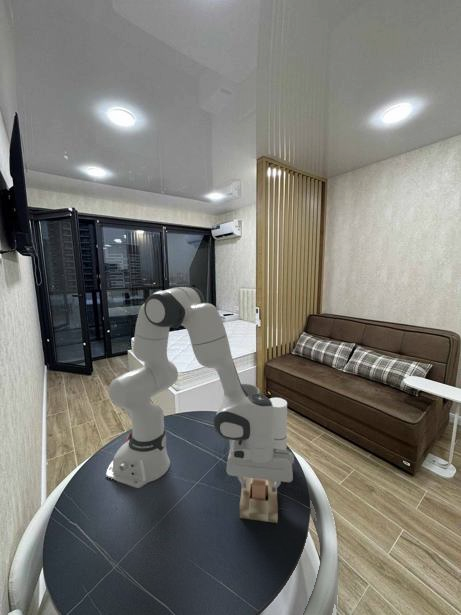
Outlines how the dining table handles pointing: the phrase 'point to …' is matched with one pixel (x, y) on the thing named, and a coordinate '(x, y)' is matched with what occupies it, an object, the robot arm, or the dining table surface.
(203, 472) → the dining table surface
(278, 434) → the cylindrical container
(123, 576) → the dining table surface
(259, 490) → the peg
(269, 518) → the socket block
